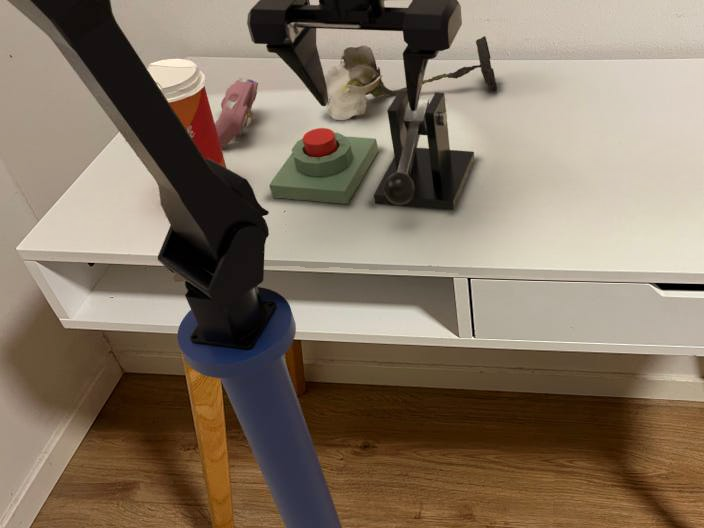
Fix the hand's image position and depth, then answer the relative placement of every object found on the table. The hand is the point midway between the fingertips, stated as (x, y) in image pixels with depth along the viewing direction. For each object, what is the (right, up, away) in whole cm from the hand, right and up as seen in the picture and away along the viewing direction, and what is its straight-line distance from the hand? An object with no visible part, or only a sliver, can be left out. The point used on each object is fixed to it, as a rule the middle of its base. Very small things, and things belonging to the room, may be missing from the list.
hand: (369, 106), depth 77 cm
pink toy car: (-20, +4, +22) cm, 30 cm away
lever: (+4, -4, +6) cm, 8 cm away
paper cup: (-21, -5, +13) cm, 25 cm away
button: (-7, -1, +12) cm, 14 cm away
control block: (-7, -3, +14) cm, 16 cm away
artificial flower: (+2, +9, +25) cm, 27 cm away
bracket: (+5, -5, +12) cm, 14 cm away
